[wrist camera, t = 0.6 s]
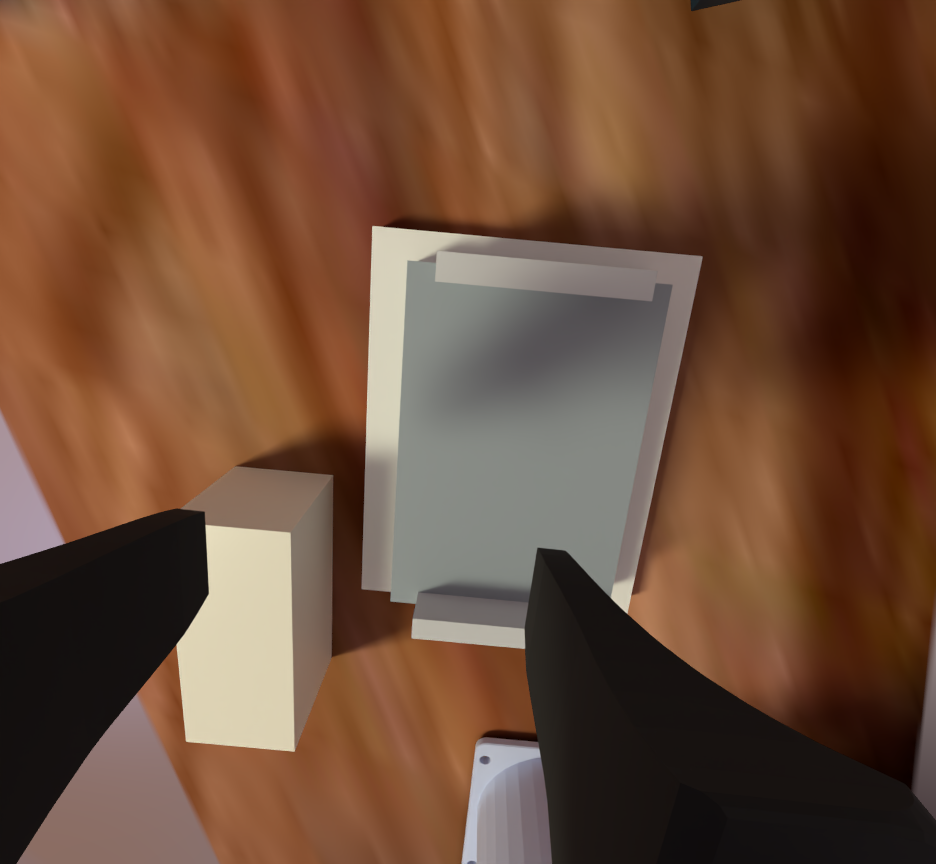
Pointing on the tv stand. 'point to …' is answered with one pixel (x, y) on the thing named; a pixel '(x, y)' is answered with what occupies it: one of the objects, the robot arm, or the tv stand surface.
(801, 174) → the tv stand surface
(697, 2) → the watch
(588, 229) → the tv stand surface
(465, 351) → the display stand
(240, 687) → the cream rectangular box
